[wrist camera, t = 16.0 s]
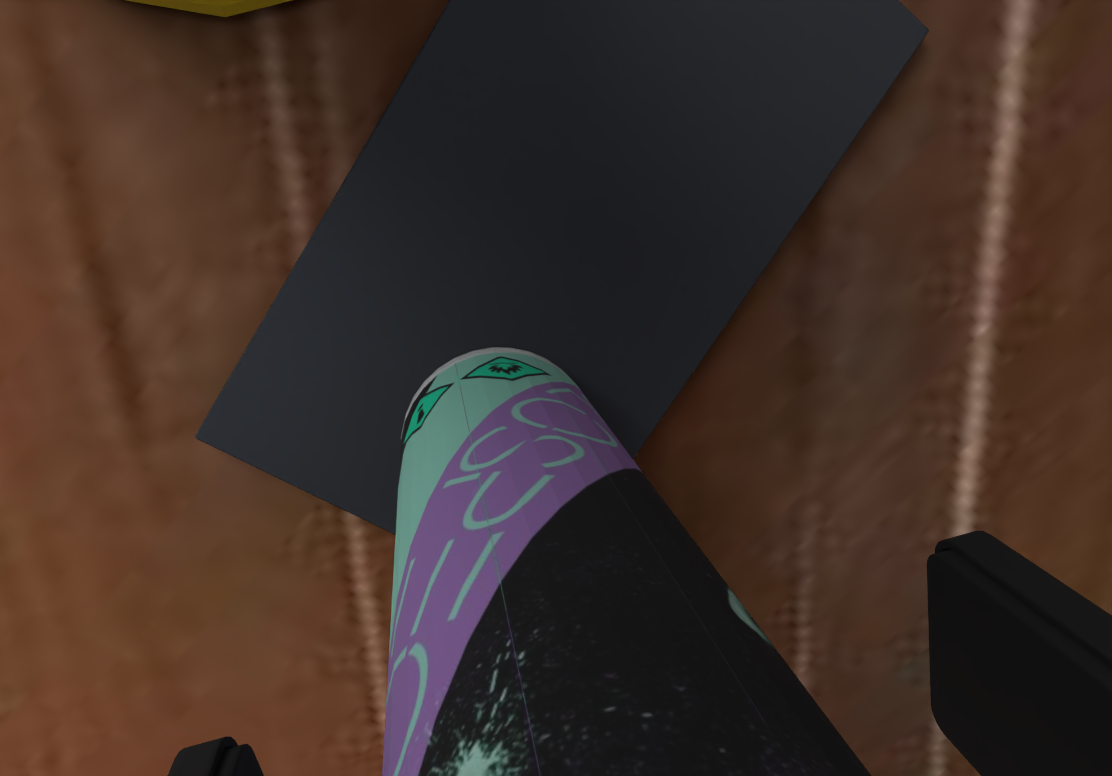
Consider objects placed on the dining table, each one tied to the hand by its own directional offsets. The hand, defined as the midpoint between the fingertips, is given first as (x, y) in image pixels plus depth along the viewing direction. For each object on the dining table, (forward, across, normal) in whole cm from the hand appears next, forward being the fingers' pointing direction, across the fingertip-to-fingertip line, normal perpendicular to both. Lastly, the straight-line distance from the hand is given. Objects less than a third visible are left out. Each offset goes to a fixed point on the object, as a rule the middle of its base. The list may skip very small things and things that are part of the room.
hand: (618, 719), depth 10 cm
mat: (+12, -2, -5) cm, 14 cm away
